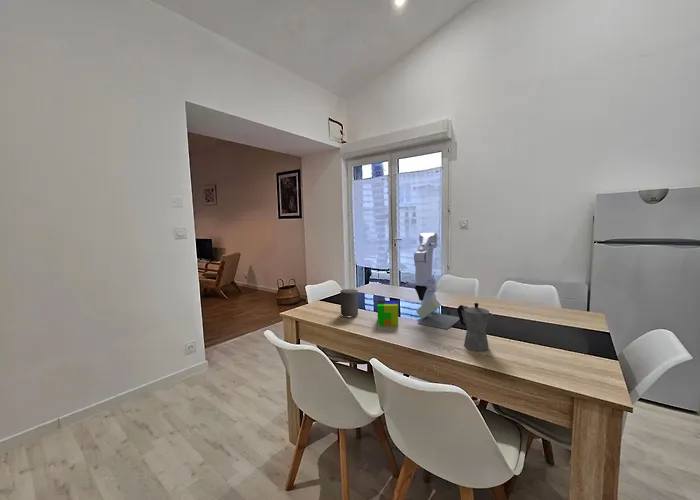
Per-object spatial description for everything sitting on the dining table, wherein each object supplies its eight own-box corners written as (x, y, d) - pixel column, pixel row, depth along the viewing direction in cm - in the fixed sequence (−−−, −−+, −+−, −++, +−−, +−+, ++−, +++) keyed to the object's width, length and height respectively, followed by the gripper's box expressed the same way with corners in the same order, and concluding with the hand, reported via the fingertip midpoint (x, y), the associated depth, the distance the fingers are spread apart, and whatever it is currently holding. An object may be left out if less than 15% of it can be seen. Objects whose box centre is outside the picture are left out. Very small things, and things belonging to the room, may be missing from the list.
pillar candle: (338, 317, 165) (337, 290, 164) (344, 311, 175) (343, 286, 173) (355, 318, 163) (355, 290, 161) (360, 312, 172) (359, 286, 170)
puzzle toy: (397, 319, 159) (396, 300, 158) (398, 325, 149) (397, 305, 148) (378, 319, 160) (377, 300, 159) (377, 325, 150) (377, 305, 149)
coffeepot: (498, 349, 118) (499, 304, 117) (484, 356, 113) (484, 308, 112) (464, 337, 131) (464, 296, 130) (450, 343, 126) (450, 300, 124)
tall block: (420, 308, 163) (434, 297, 157) (426, 316, 161) (441, 305, 155) (415, 311, 159) (430, 299, 153) (422, 319, 157) (437, 307, 151)
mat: (434, 313, 166) (434, 312, 166) (461, 318, 157) (461, 317, 157) (417, 323, 151) (417, 323, 151) (447, 329, 141) (447, 328, 141)
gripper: (404, 274, 159) (405, 299, 161) (430, 276, 150) (431, 303, 151) (411, 272, 165) (411, 297, 166) (436, 274, 156) (436, 300, 157)
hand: (421, 300), depth 159 cm, fingers closed
